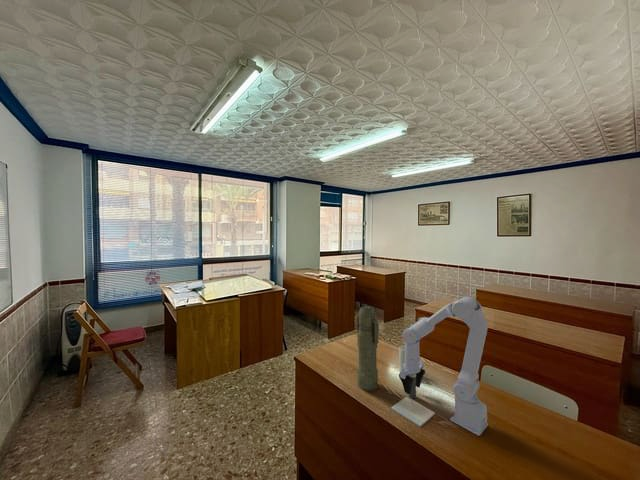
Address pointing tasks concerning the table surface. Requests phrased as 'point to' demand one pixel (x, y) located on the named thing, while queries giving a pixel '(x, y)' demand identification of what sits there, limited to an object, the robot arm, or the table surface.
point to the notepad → (413, 411)
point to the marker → (413, 386)
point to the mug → (401, 357)
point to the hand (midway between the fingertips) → (412, 389)
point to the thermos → (367, 348)
